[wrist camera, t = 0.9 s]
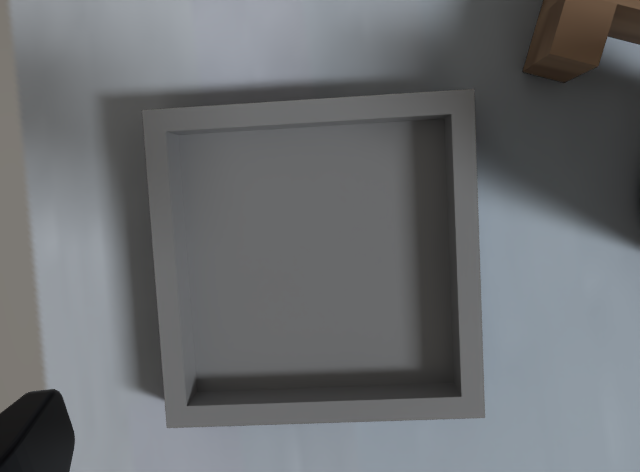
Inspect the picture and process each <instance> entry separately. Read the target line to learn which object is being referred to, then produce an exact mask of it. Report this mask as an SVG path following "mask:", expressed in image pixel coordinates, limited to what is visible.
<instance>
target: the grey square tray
mask: <svg viewBox="0 0 640 472" xmlns="http://www.w3.org/2000/svg"><path fill="white" fill-rule="evenodd" d="M142 119H143V132H144V144H145V157H146V170H147V183H148V195H149V208H150V221H151V233H152V246H153V259H154V271H155V284H156V297H157V310H158V322H159V335H160V348H161V360H162V373H163V386H164V399H165V411H166V424H167V428H184V427H215V426H246V425H277V424H309V423H340V422H371V421H402V420H434V419H465V418H485V402H484V371H483V341H482V310H481V280H480V249H479V219H478V188H477V157H476V127H475V96H474V89H463V90H447V91H431V92H416V93H400V94H384V95H369V96H353V97H337V98H322V99H306V100H290V101H275V102H259V103H243V104H228V105H212V106H196V107H181V108H165V109H149V110H142Z"/></svg>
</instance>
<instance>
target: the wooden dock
mask: <svg viewBox="0 0 640 472" xmlns="http://www.w3.org/2000/svg"><path fill="white" fill-rule="evenodd" d="M607 36H609V37H613V38H617V39H621V40H625V41H629V42H633V43H637V44H640V0H543V3H542V7H541V10H540V13H539V17H538V20H537V24H536V27H535V30H534V34H533V37H532V41H531V44H530V48H529V51H528V54H527V58H526V61H525V65H524V68H523V72H525V73H529V74H532V75H536V76H540V77H544V78H548V79H552V80H556V81H560V82H563V83H565V82H567V81H569V80H571V79H573V78H575V77H577V76H579V75H581V74H583V73H585V72H588V71H590V70H592V69H594V68H596V67H598V66H599V62H600V59H601V56H602V52H603V49H604V46H605V43H606V39H607Z"/></svg>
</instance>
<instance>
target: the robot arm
mask: <svg viewBox="0 0 640 472" xmlns="http://www.w3.org/2000/svg"><path fill="white" fill-rule="evenodd" d="M74 444H75V436H74V430H73V427H72V424H71V421H70V418H69V415H68V412H67V409H66V406H65V403H64V400H63V397H62V395H61V394H60V392H59V391H57V390H55V389H50V390H41V391H32V392H28V393H26V394H25V395H23V396H22V397H21V398H20V399H18V400H17V401H16V402H14V403H13V404H12V405H11V406H9V407H8V408H7V409H5V410H4V411H3V412H2V413H0V472H69V471H70V466H71V461H72V456H73V451H74Z"/></svg>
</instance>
